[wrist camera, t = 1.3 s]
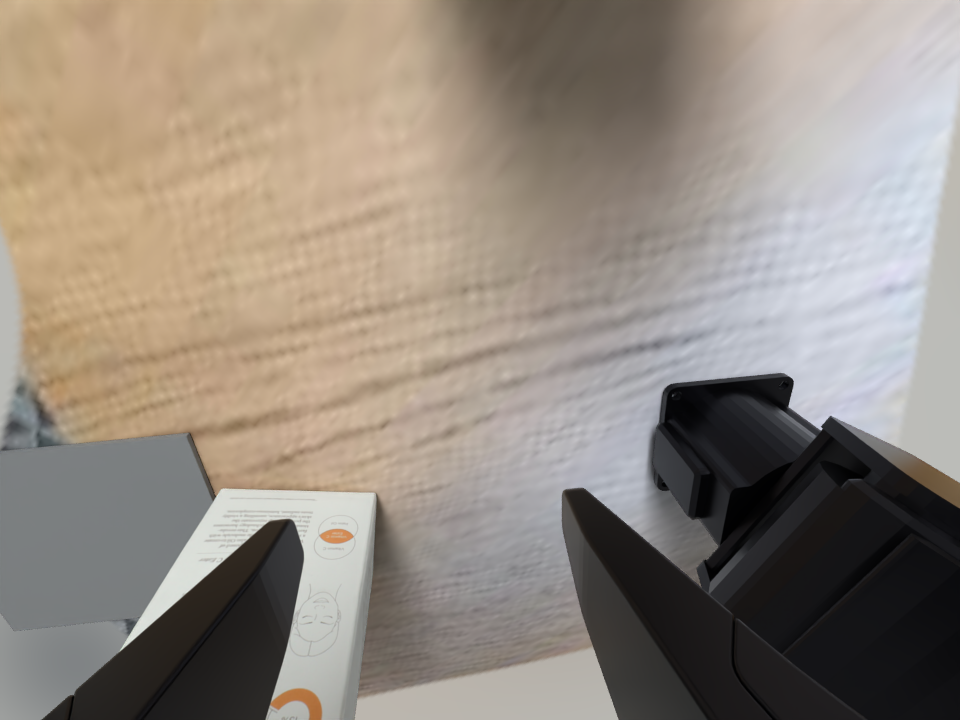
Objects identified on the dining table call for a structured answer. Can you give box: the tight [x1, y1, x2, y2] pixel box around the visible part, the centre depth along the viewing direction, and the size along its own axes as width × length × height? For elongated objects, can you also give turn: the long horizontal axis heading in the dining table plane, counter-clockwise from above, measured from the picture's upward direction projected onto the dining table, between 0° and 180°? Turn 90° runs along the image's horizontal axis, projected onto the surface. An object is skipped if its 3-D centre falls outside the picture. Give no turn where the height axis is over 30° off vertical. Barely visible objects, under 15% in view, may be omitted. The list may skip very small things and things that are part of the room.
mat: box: [0, 433, 215, 631], centre depth 24 cm, size 14×12×1 cm
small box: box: [119, 488, 377, 720], centre depth 19 cm, size 8×6×13 cm
